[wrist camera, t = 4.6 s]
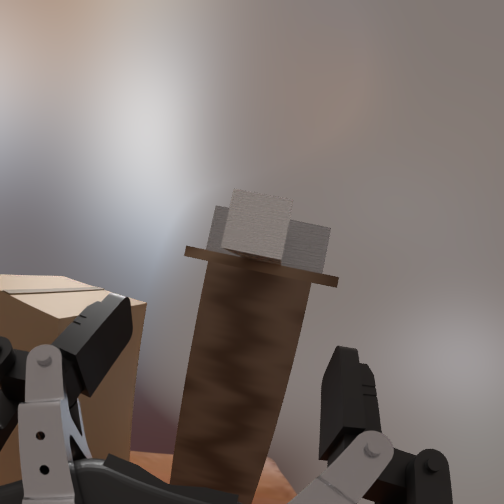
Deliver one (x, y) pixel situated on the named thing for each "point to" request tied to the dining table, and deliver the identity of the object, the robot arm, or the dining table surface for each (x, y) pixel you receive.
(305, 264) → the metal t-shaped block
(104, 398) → the cardboard box
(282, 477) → the dining table surface
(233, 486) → the tall wooden plank
